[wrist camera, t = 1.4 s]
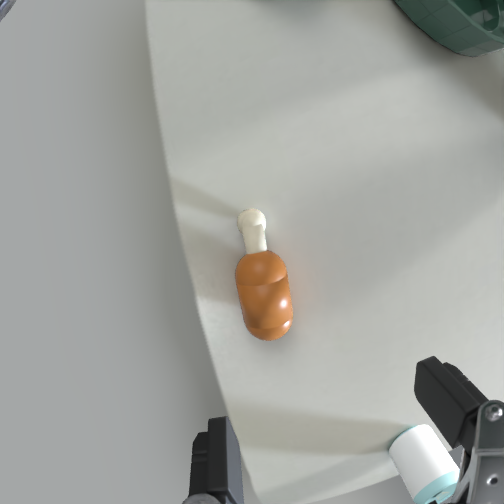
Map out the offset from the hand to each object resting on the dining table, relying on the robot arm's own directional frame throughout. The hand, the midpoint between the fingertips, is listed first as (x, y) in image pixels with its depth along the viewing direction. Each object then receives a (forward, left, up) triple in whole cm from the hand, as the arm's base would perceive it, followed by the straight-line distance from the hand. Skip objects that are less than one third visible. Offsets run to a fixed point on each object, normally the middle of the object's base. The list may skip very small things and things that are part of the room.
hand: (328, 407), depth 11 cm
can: (+31, -13, -16) cm, 37 cm away
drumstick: (-1, 0, -16) cm, 16 cm away
